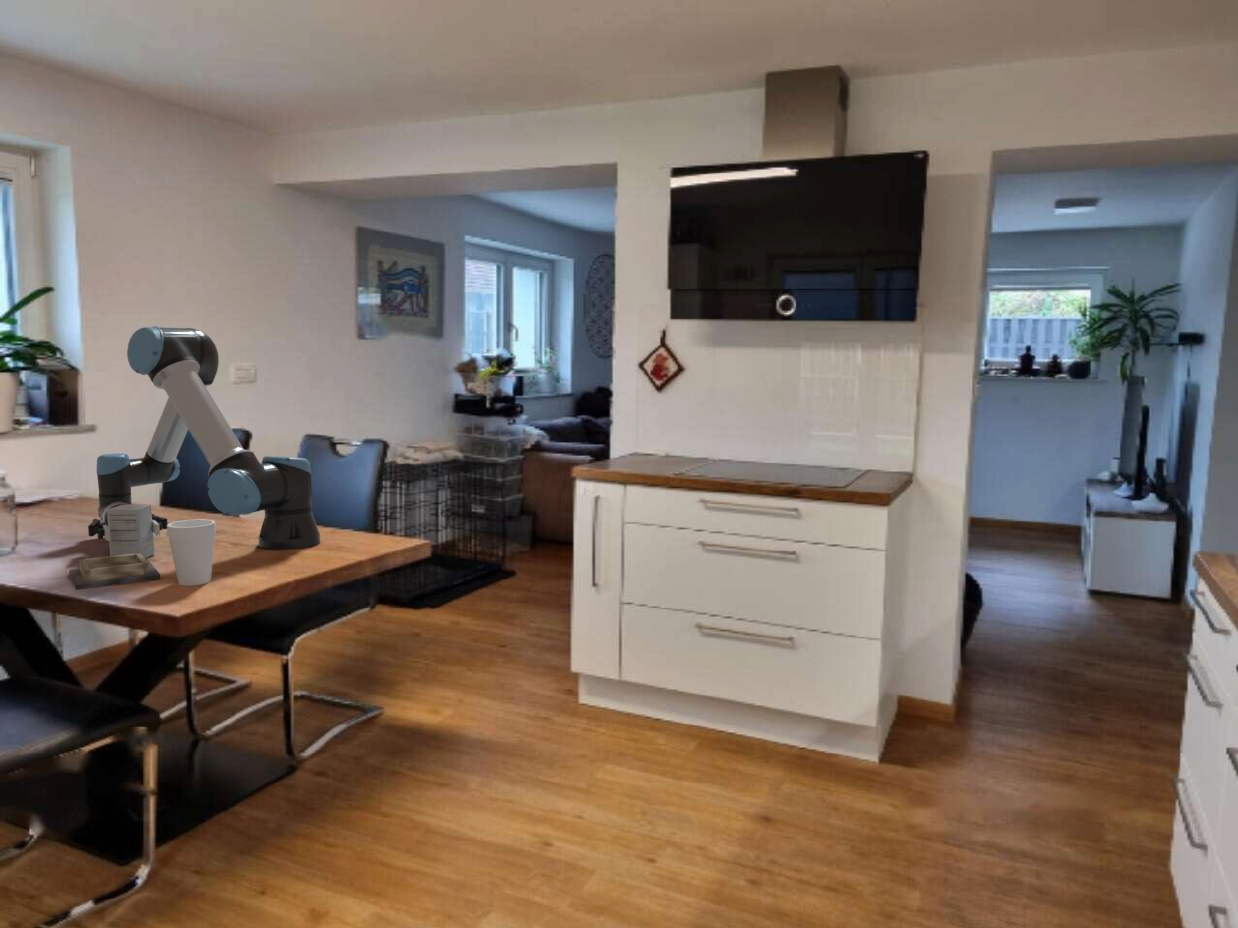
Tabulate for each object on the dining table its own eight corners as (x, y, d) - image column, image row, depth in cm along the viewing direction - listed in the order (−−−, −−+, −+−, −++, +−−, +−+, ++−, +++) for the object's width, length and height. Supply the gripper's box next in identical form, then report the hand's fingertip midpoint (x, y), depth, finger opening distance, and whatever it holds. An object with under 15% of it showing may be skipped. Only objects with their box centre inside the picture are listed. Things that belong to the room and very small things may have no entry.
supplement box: (124, 554, 214) (121, 504, 212) (155, 554, 214) (152, 504, 213) (109, 561, 207) (105, 509, 205) (141, 561, 207) (137, 509, 205)
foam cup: (225, 576, 194) (222, 519, 192) (207, 587, 185) (204, 527, 183) (182, 576, 193) (179, 519, 192) (162, 587, 184) (158, 527, 183)
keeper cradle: (149, 564, 204) (148, 550, 203) (160, 578, 191) (159, 563, 191) (69, 574, 194) (68, 559, 194) (75, 590, 182) (74, 573, 181)
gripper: (169, 527, 231) (185, 542, 213) (71, 537, 218) (79, 553, 200) (168, 499, 230) (184, 512, 212) (69, 508, 217) (77, 522, 199)
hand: (133, 532), depth 206 cm, fingers closed on supplement box, 10 cm apart
